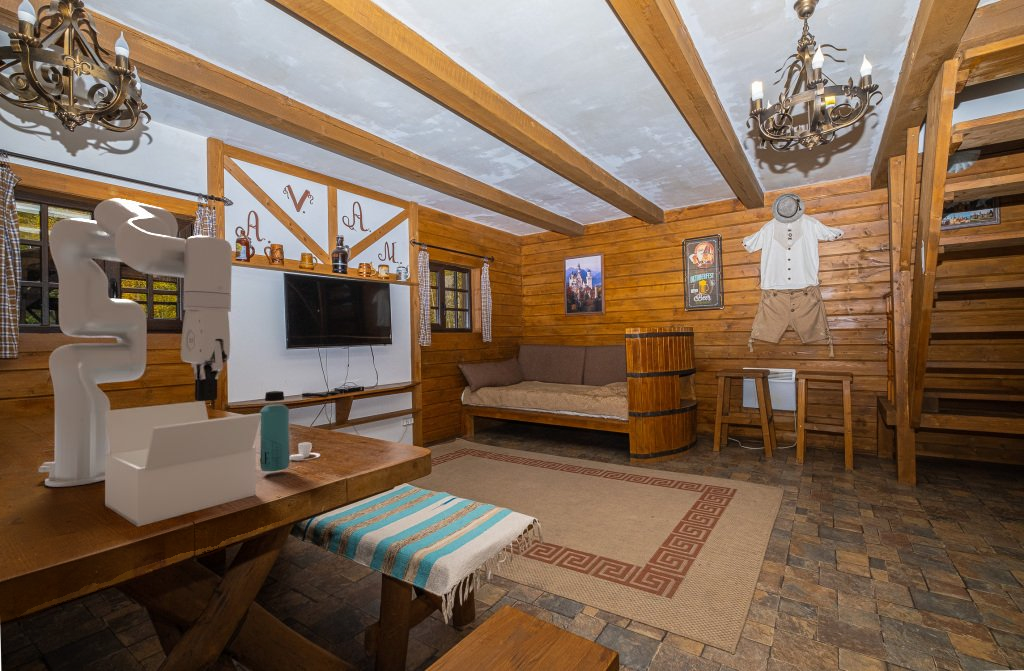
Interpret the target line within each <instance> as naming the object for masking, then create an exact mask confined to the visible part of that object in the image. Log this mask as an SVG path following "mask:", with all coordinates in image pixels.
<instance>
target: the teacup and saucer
mask: <svg viewBox="0 0 1024 671" xmlns="http://www.w3.org/2000/svg"><path fill="white" fill-rule="evenodd" d="M297 445H298V453H297V454H290V456H289V457H290V458H289V461H307V460H308V461H309V460H313V459H317V458H319V457H321V454H320V453H318V452H311V451H312V447H313V444H312V443H311V442H308V441H307V442H306V441H305V442H304V441H303V442H299V443H298V444H297ZM310 455H314V457H310ZM309 457H310V458H309Z"/></svg>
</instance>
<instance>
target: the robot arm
mask: <svg viewBox="0 0 1024 671" xmlns="http://www.w3.org/2000/svg"><path fill="white" fill-rule="evenodd" d="M93 211H94V212H93V218H94V220H90V219H84V218H64V219H60V220H58V221H56V222H55V223H54V224H53V226H52V228H51V229H50V234H49V240H48V241H49V244H48V245H49V250H50V251H49V252H50V254H51V257H52V260H53V262H54V265H55V268H56V271H57V274H58V325H59V327H60V330H61V332H62V333H63V334H64V335H66V336H68V337H73V338H87V339H88V338H90V339H91V338H97V339H98V338H103V339H104V338H112V339H113V338H115V339H116V342H117V343H114V342H113V343H109V342H108V343H105V342H104V343H103V342H102V343H101V342H98V343H97V342H94V343H93V342H92V343H91V342H89V343H84V342H83V343H81V342H80V343H71V344H65V345H61V346H58V347H57V348H56V349H54V350H53V351H52V352H51V354H50V355H49V358H48V368H49V373H50V376H51V381H52V386H53V394H54V395H53V396H54V461H45V462H43V463H42V464H41V466H38V469H37V471H38V473H47V472H48V473H49V475H48V477H47V478H45V480H44V485H45V486H46V487H47V486H48V487H52V488H55V487H56V488H59V487H60V488H62V487H63V488H64V487H74V486H75V487H76V486H81V485H82V486H83V485H87V484H88V485H89V484H93V483H97V482H98V483H99V482H101V481H105V454H111V451H110V444H109V437H108V429H107V422H106V415H105V411H108V410H111V402H110V399H109V397H108V396H107V394H106V393H105V392H104V391H103V390H101V388H100V387H98V384H106V383H109V384H110V383H120V382H123V383H124V382H131V381H135V380H138V379H139V378H142V376H143V375H144V373H145V371H146V368H147V367H146V366H147V328H148V327H147V316H146V312H145V310H144V308H143V307H142V305H141V304H139V303H138V302H137V301H134V300H130V299H122V298H110V297H109V279H108V277H107V276H108V275H106V273H105V271H104V270H103V269H102V268H101V267H100V266H99V264H98V263H96V261H94V260H93V259H95V260H104V261H109V262H117V263H118V262H119V263H124V264H125V265H127V266H128V267H130V268H132V269H133V270H135V271H137V272H140V273H143V274H147V275H156V276H165V277H174V278H182V279H183V309H182V310H184V311H185V312H184V316H183V321H182V332H181V341H180V342H181V343H180V344H181V345H180V359H181V360H182V362H185V363H190V364H191V367H192V369H193V376H194V400H195V401H196V402H198V401H205V402H206V401H207V402H209V401H216V400H217V399H218V379H219V374H220V372H221V371H222V370H223V369H224V364H225V363H227V362H228V361H229V360H230V352H231V348H230V347H231V335H230V318H229V313H230V312H231V311H232V309H231V308H232V269H233V268H232V267H233V265H232V260H233V259H232V258H233V248H232V245H231V243H230V242H229V241H227V240H226V239H223V238H220V237H215V236H208V235H207V236H206V235H205V236H204V235H194V236H193V235H192V236H190V237H187V239H185V238H180V237H177V235H178V233H179V232H178V230H179V225H178V221H177V219H176V217H175V216H174V215H173V213H171V212H170V211H169V210H167V209H165V208H163V207H160V206H159V207H157V206H155V205H149V204H145V203H142V202H141V203H140V202H137V201H133V200H128V199H127V200H126V199H121V198H109V199H105V200H104V201H101V202H99V203H98V204H97V205H96V207H95V209H94V210H93Z"/></svg>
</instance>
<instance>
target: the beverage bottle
mask: <svg viewBox="0 0 1024 671" xmlns="http://www.w3.org/2000/svg"><path fill="white" fill-rule="evenodd" d="M284 395H285V394H284V391H279V390H272V391H271V390H270V391H266V392H265V397H264V401H265V402H279V401H285V396H284ZM259 413H260V414H261V418H260V423H259V426H260V428H259V435H260V450H259V453H260V458H259V462H260V470H261V471H262V472H277V471H282V470H283V471H284V470H286V469H288V468H289V466H290V459H289V458H290V456H291V454H290V426H289V424H290V423H289V422H290V419H289V418H290V414H289V413H290V408H288V407H287V405H285V404H279V403H278V404H269V405H265V406H263V407H262V408H261V410H259Z"/></svg>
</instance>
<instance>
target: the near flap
mask: <svg viewBox="0 0 1024 671" xmlns="http://www.w3.org/2000/svg"><path fill="white" fill-rule="evenodd" d="M260 423H261V413H260V412H259V413H258V412H257V413H249V414H244V415H243V414H242V415H234V416H227V417H219V418H211V419H210V418H209V419H208V420H203V421H195V422H187V423H180V424H172V425H164V426H157V427H153V430H152V435H151V440H150V445H149V450H148V455H147V460H146V465H145V469H146V470H148V469H153V468H158V467H164V466H169V465H174V464H179V463H184V462H190V461H195V460H200V459H205V458H211V457H216V456H221V455H226V454H232V453H237V452H242V451H247V450H252V448H253V446H254V443H255V440H256V436H257V433H258V428H259V426H260Z"/></svg>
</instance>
